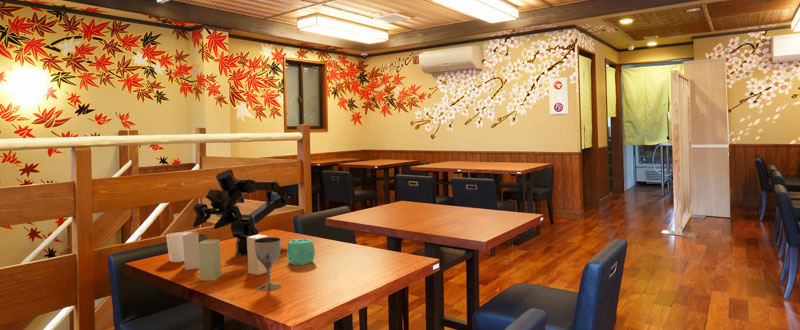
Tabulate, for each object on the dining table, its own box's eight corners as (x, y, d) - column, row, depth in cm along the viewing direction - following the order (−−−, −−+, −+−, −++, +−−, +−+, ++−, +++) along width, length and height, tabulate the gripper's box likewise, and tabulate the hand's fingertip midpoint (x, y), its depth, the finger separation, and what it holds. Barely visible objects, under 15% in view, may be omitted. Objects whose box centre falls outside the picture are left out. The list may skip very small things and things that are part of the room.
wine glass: (258, 283, 160) (256, 237, 158) (284, 282, 160) (282, 236, 159) (253, 291, 152) (251, 243, 150) (280, 290, 152) (278, 242, 151)
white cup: (181, 263, 186) (180, 236, 185) (163, 262, 187) (161, 236, 187) (194, 257, 194) (193, 232, 193) (176, 257, 195) (175, 231, 194)
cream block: (259, 269, 176) (258, 234, 175) (269, 271, 173) (268, 235, 172) (248, 272, 172) (246, 237, 171) (258, 275, 169) (257, 238, 168)
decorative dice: (315, 263, 183) (314, 241, 182) (293, 266, 179) (293, 244, 178) (308, 258, 190) (307, 237, 189) (287, 261, 186) (286, 240, 185)
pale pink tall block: (199, 264, 183) (198, 231, 182) (200, 268, 179) (198, 233, 178) (184, 266, 181) (183, 232, 180) (184, 269, 177) (183, 235, 176)
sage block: (206, 275, 169) (205, 239, 168) (221, 275, 169) (219, 239, 168) (200, 280, 164) (198, 243, 163) (215, 280, 164) (213, 242, 163)
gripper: (201, 182, 190) (174, 208, 177) (241, 184, 183) (216, 210, 171) (212, 206, 195) (186, 232, 183) (252, 208, 189) (228, 235, 177)
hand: (204, 227), depth 178 cm, fingers open, 9 cm apart
